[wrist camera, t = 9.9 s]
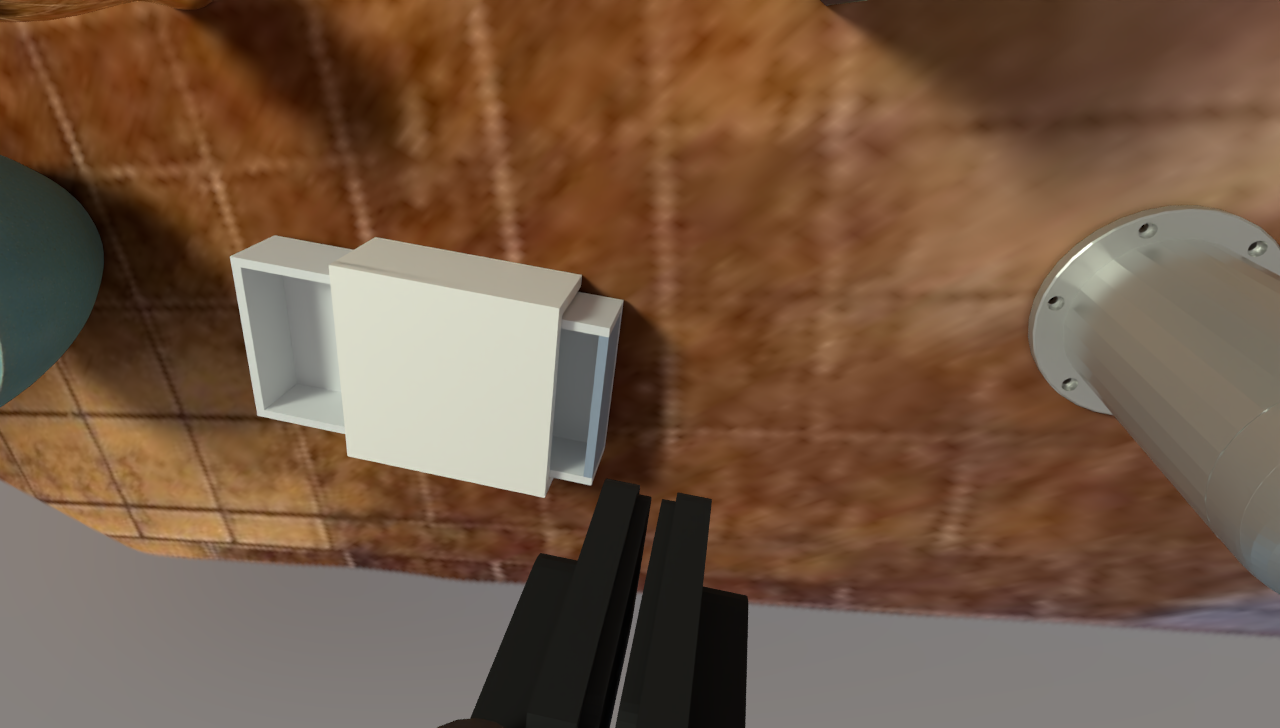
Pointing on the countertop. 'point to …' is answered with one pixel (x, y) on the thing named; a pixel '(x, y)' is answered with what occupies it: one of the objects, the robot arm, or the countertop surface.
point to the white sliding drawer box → (308, 362)
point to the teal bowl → (42, 274)
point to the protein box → (839, 1)
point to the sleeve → (449, 361)
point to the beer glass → (75, 8)
